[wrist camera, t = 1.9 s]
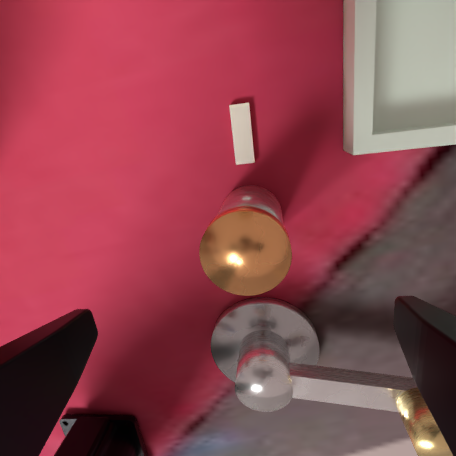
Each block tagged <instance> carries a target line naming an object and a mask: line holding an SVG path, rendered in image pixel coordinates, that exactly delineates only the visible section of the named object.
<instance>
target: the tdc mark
mask: <svg viewBox="0 0 456 456" xmlns="http://www.w3.org/2000/svg"><path fill="white" fill-rule="evenodd" d="M229 108H230V116H231V125H232V134H233V143H234V152H235V160H236V165H238V164H248V163H255V159H254V148H253V138H252V127H251V116H250V106H249V103H242V104H234V105H229Z"/></svg>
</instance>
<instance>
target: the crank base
mask: <svg viewBox="0 0 456 456" xmlns="http://www.w3.org/2000/svg"><path fill="white" fill-rule="evenodd" d="M259 330H267V331H272V332H274V333H277V334H278V335H280V336H281V337H282V338H284V340H285V341H286V342H287V344H288V347H289V355H290V362H292V363H300V364H308V365H317V362H318V359H319V351H320V349H319V342H318V338H317V334H316V330H315V328H314V326H313V324H312V322H311V321H310V319H309V318H308V317H307V316H306V315H305V314H304V313H303V312H302V311H301V310H300V309H298V308H297V307H295V306H294V305H292V304H290V303H288V302H285V301H282V300H279V299H275V298H268V297H257V298H250V299H245V300H243V301H240V302H237V303H235V304H233V305H232V306H230V307H229V308H228V309H226V310H225V311H224V312H223V313H222V314H221V316H220V317H219V318H218V320H217V322H216V324H215V327H214V330H213V335H212V339H211V352H212V356H213V359H214V361H215V363H216V365H217V366H218V368H219V369H220V370H221V372H222V373H223V374H224V375H225V376H227V377H228V378H229V379H230V380H232V381H233V382H236V374H237V365H238V356H239V348H240V343H241V341H242V339H243V338H244V337H245V336H246V335H248V334H249V333H251V332H254V331H259Z"/></svg>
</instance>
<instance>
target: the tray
mask: <svg viewBox="0 0 456 456" xmlns="http://www.w3.org/2000/svg"><path fill="white" fill-rule="evenodd" d="M454 144H456V0H343V151H346V152H348V153H350V154H352V155H360V154H369V153H379V152H388V151H397V150H407V149H416V148H425V147H435V146H444V145H454Z"/></svg>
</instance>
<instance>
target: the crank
mask: <svg viewBox="0 0 456 456" xmlns="http://www.w3.org/2000/svg"><path fill="white" fill-rule="evenodd" d="M235 392H236V395H237V397H238V398H239V400H240V401H241V402H242V403H243V404H244V405H246V406H247V407H249V408H251V409H254V410H257V411H263V412H270V411H276V410H279V409H281V408H283V407H285V406H286V405H287V404H288V403H289V402H290V400H291V398H299V399H306V400H313V401H321V402H328V403H335V404H343V405H350V406H357V407H365V408H372V409H379V410H387V411H394V412H399V414H400V416H401V419H402V421H403V423H404V425H405V428H406V430H407V432H408V434H409V437H410V439H411V441H412V443H413V446H414V448H415V450H416V452H417V454H418V456H453V454H452V452H451V451H450V449H449V447H448V445H447V443H446V441H445V439H444V437H443V435H442V433H441V431H440V430H439V428H438V426H437V424H436V422H435V420H434V418H433V416H432V414H431V412H430V410H429V409H428V407H427V405H426V403H425V401H424V399H423V397H422V395H421V393H420V391H419V389H418V387H417V385H416V383H415V381H414V378H411V377H403V376H395V375H387V374H379V373H371V372H363V371H355V370H347V369H339V368H332V367H324V366H316V365H308V364H300V363H292V362H290V355H289V347H288V344H287V342H286V341H285V340H284V338H282V337H281V336H280V335H278V334H277V333H274V332H272V331H267V330H259V331H254V332H251V333H249V334H248V335H246V336H245V337H244V338H243V339H242V341H241V343H240V348H239V356H238V365H237V374H236V382H235Z"/></svg>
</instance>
